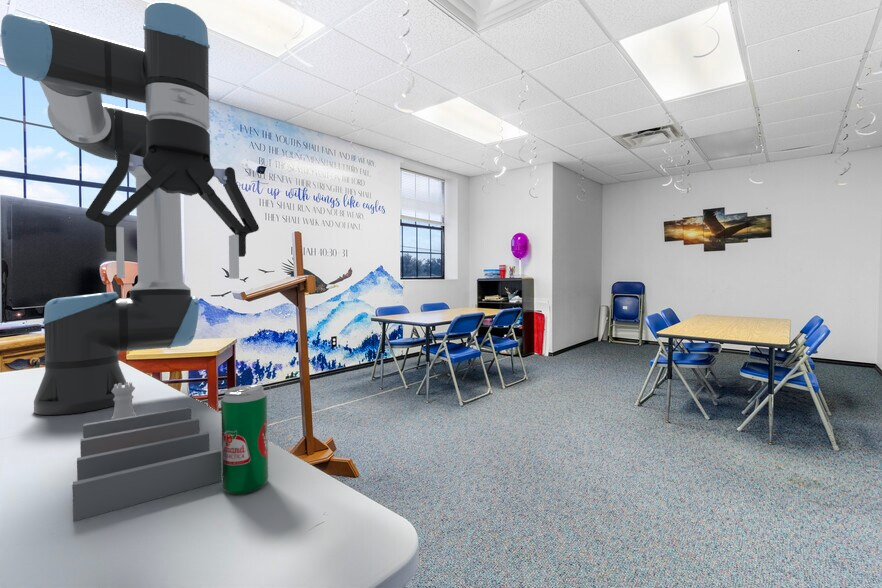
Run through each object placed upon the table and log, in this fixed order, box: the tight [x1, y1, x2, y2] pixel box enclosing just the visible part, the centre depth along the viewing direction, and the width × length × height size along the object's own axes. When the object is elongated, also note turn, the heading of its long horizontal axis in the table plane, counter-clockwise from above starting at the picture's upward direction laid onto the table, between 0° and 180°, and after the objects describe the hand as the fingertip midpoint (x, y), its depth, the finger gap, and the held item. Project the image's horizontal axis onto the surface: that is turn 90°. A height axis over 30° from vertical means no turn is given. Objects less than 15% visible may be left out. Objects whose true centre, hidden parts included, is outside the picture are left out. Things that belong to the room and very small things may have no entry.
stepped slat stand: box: [71, 406, 223, 522], centre depth 57 cm, size 25×14×4 cm, turn 39°
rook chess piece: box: [110, 381, 137, 420], centre depth 71 cm, size 4×4×8 cm
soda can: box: [220, 384, 269, 496], centre depth 50 cm, size 5×5×12 cm
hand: (181, 278), depth 58 cm, fingers open, 13 cm apart
